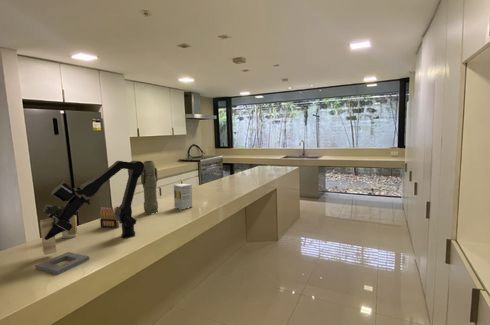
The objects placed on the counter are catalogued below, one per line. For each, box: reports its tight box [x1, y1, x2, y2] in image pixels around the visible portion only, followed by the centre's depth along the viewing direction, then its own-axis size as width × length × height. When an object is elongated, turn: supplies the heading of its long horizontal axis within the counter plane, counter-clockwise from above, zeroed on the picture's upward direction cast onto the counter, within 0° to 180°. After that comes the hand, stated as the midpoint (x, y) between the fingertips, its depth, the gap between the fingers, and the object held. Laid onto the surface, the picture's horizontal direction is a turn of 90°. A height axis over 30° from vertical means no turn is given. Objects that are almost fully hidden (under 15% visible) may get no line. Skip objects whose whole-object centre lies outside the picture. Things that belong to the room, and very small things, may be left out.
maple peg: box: [39, 218, 57, 256], centre depth 116 cm, size 4×4×14 cm
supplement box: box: [173, 183, 193, 210], centre depth 193 cm, size 10×9×17 cm
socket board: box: [35, 251, 90, 276], centre depth 109 cm, size 13×13×2 cm
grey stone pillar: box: [140, 160, 159, 215], centre depth 182 cm, size 9×12×35 cm
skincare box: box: [61, 215, 78, 239], centre depth 140 cm, size 6×4×12 cm
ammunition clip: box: [99, 206, 120, 229], centre depth 154 cm, size 11×2×12 cm, turn 78°
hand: (44, 238), depth 115 cm, fingers closed on maple peg, 4 cm apart
